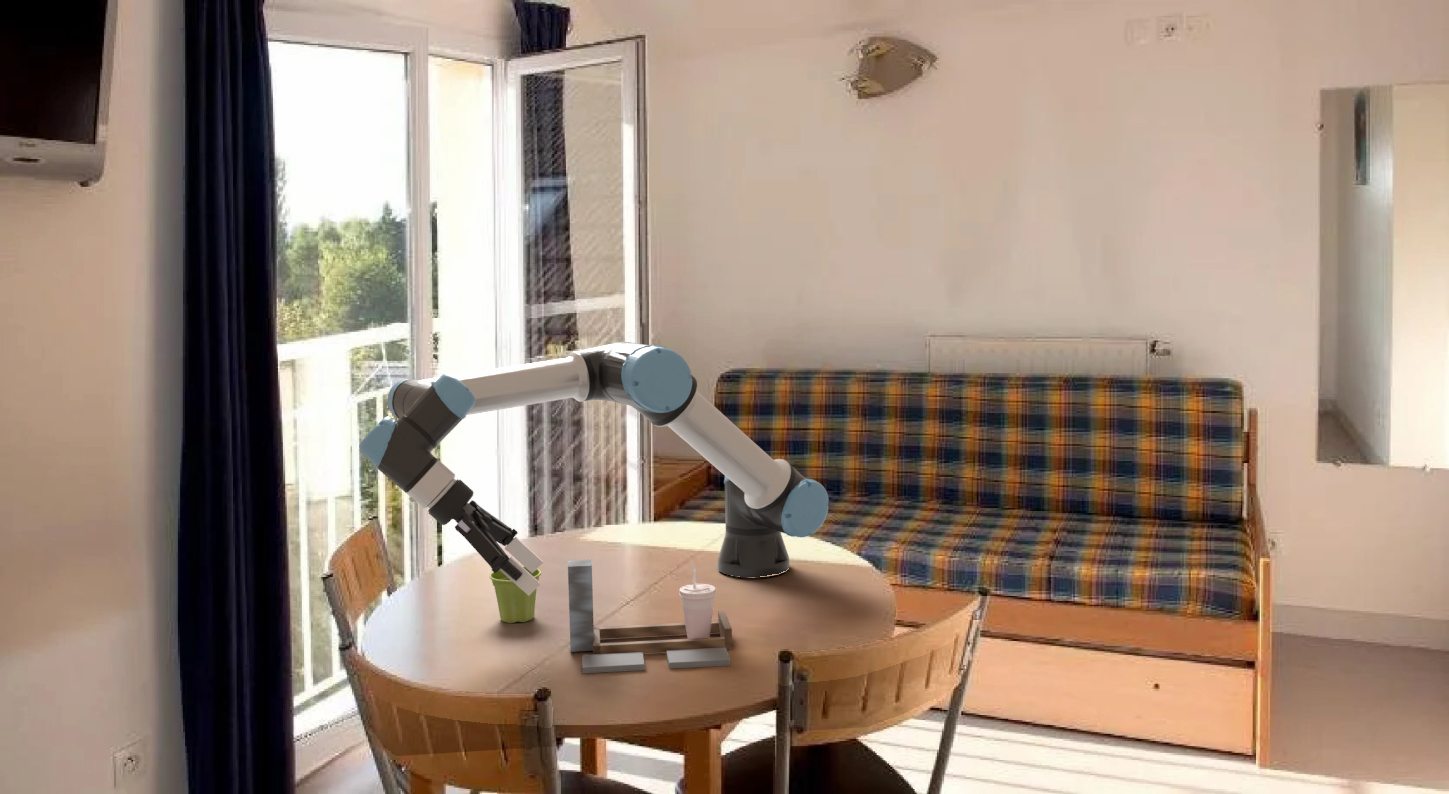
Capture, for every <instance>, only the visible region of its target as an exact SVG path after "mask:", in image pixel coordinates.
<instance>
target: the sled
mask: <svg viewBox="0 0 1449 794" xmlns="http://www.w3.org/2000/svg"><path fill="white" fill-rule="evenodd" d="M592 562H593V561H592V559H575V560H574V559H572V560H567V578H568V579H567V580H568V607H569V608H568V611H569V612H568V614H569V643H570V645H569V646H570V652H571V653H572V652H573V653H574V652H575V653H576V652H590V651H592V655H593V654H611V653H630V652H643V655H646V654H649V655H650V654H663V653H665V654H666V651H667V650H686V649H705V648H724V647H726V650H732V649H733V636H732V635H733V629H732V626H731V622H730V620H729V619H728V616H727V612H726V611H725V610H718V611H717V618H718V619H717V620H712V622H711V631H710V634H719V636H718V637H715V636H714V637H710V638H694V639H687V638H679V639H678V638H677V639H676V638H675V639H662V640H661V639H657V640H641V641H638V640H637V641H626V642H625V641H624V642H623V641H622V642H621V641H617V642H602V643H601V640H608V639H626V638H627V639H629V638H646V637H648V638H649V637H666V636H667V637H668V636H687V633H686V626H685V622H676V623H675V622H672V623H655V624H654V623H652V624H634V625H633V624H632V625H615V626H614V625H612V626H595V625H594V622H595V621H594V600H593V599H594V596H593V563H592Z"/></svg>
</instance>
